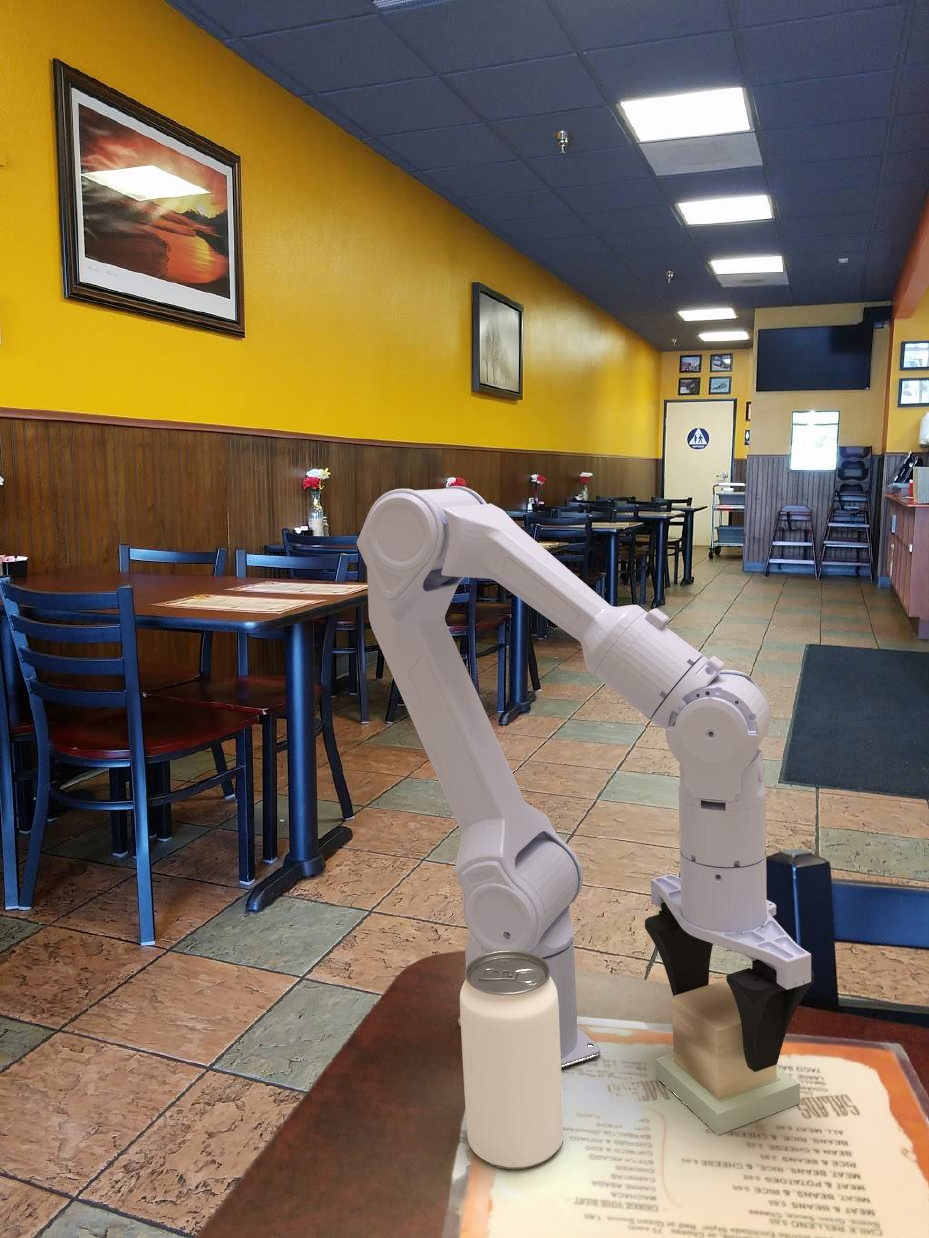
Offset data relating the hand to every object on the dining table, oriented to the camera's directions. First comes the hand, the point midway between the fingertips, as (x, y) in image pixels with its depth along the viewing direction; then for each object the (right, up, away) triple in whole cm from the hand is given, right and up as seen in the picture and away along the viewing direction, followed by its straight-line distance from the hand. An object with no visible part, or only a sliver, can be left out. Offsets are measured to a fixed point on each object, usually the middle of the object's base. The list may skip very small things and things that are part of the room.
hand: (725, 1036), depth 67 cm
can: (-15, -6, -3) cm, 16 cm away
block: (0, -3, 0) cm, 3 cm away
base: (0, -4, +1) cm, 4 cm away
